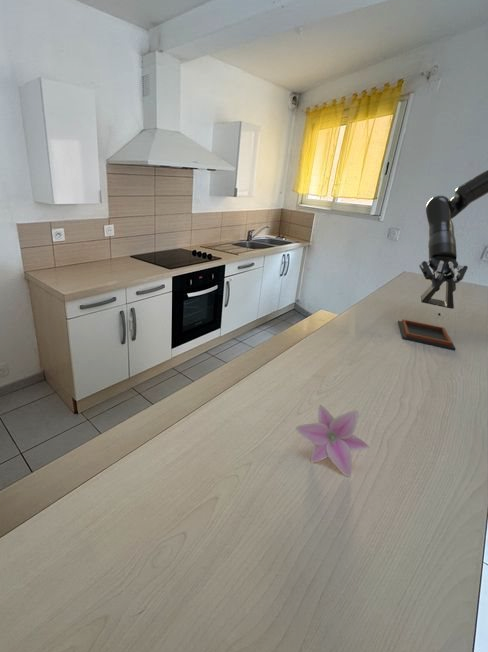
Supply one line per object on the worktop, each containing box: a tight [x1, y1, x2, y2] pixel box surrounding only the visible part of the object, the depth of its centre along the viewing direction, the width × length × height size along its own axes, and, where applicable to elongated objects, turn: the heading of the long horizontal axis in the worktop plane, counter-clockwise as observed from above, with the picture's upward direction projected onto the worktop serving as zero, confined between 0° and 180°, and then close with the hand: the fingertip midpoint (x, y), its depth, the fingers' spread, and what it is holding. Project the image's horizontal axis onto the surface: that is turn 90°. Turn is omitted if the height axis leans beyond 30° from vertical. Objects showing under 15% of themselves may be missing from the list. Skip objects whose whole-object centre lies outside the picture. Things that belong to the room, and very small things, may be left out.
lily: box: [295, 404, 370, 478], centre depth 63 cm, size 12×12×10 cm
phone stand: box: [420, 267, 456, 310], centre depth 108 cm, size 9×6×12 cm, turn 58°
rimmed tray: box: [397, 319, 456, 351], centre depth 115 cm, size 15×15×2 cm
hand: (444, 291), depth 107 cm, fingers closed on phone stand, 3 cm apart
